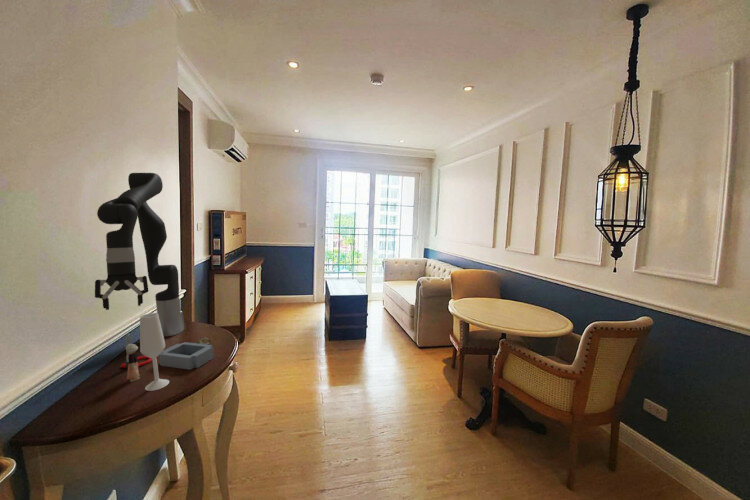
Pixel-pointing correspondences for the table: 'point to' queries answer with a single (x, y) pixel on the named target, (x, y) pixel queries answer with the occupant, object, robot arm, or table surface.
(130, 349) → the grandmother figurine
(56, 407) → the table surface
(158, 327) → the champagne flute
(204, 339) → the mineral rock
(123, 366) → the tow hook
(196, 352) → the well block
